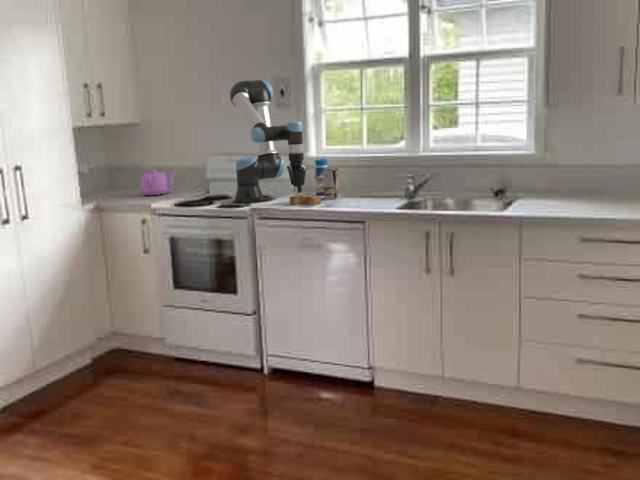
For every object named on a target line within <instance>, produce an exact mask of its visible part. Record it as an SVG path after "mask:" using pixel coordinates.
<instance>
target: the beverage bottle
mask: <svg viewBox="0 0 640 480" xmlns="http://www.w3.org/2000/svg"><path fill="white" fill-rule="evenodd" d="M314 162H315V166H316V167H315V169H314V182H315V183H314V184H315V196H321V197H324V175H323V171H324V170H325V169H329V167H328V165H329V161H328V158H316V159H315V161H314Z"/></svg>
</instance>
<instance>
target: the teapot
mask: <svg viewBox="0 0 640 480" xmlns="http://www.w3.org/2000/svg"><path fill="white" fill-rule="evenodd" d="M176 172H178V170H174V171H171V173H170V176H169V179H168V177H167V174H166V173H165V172H161V171H160V172H157V169H151V170H150V172H149V173H148V172H147V173H144V174H143V176H142V179H141V183H140V192H141V193H142V195H144V196H147V195H151V196H154V195H156V196H160V195H159V194H162V195H163V194H164V195H165V194H168V193H169V192H170V189H171V187H172V186H173V183H174V177H175V173H176Z"/></svg>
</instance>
